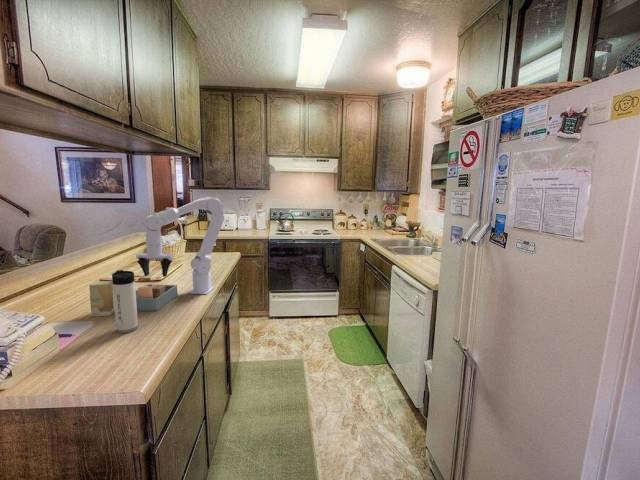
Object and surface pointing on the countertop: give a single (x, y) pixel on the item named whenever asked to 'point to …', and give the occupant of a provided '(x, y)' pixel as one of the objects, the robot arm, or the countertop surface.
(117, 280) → the travel mug
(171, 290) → the tote
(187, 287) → the countertop surface
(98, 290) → the skincare box
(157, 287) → the walnut cube
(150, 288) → the terracotta capsule
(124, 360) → the countertop surface
